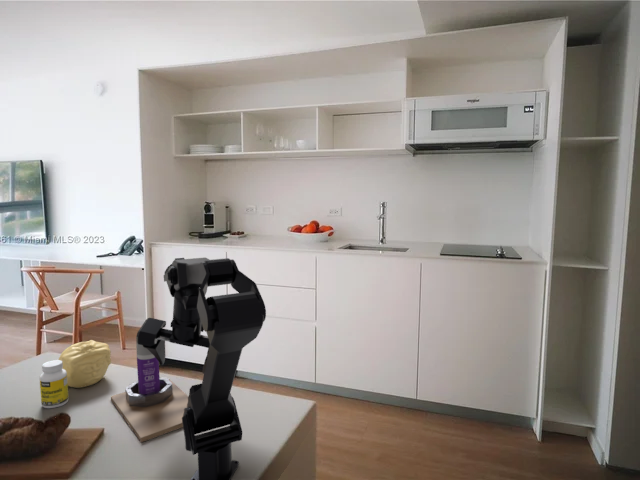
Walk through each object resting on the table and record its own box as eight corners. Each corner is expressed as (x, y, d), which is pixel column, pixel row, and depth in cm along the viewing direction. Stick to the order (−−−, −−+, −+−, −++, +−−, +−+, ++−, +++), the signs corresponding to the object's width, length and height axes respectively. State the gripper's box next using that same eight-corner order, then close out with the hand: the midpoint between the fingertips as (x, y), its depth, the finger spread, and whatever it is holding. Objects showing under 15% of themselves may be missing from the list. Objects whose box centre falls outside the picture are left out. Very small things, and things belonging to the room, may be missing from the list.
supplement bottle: (38, 410, 97) (34, 369, 96) (46, 399, 102) (43, 359, 101) (65, 407, 98) (61, 366, 97) (71, 396, 104) (68, 357, 102)
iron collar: (157, 408, 96) (156, 397, 95) (118, 404, 97) (117, 394, 97) (178, 388, 105) (178, 378, 105) (142, 385, 107) (142, 375, 106)
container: (146, 403, 98) (142, 340, 96) (135, 397, 101) (131, 336, 99) (164, 395, 102) (161, 334, 100) (153, 390, 104) (150, 330, 102)
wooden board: (207, 417, 94) (207, 413, 94) (141, 442, 85) (140, 437, 85) (169, 382, 110) (169, 379, 110) (110, 400, 102) (110, 396, 101)
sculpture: (72, 397, 103) (68, 354, 102) (51, 383, 110) (47, 343, 109) (118, 380, 112) (115, 340, 111) (96, 368, 119) (93, 330, 118)
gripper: (242, 298, 94) (234, 350, 101) (158, 280, 93) (156, 334, 101) (229, 332, 84) (221, 387, 92) (135, 312, 84) (135, 369, 91)
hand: (183, 367), depth 94 cm, fingers open, 9 cm apart
